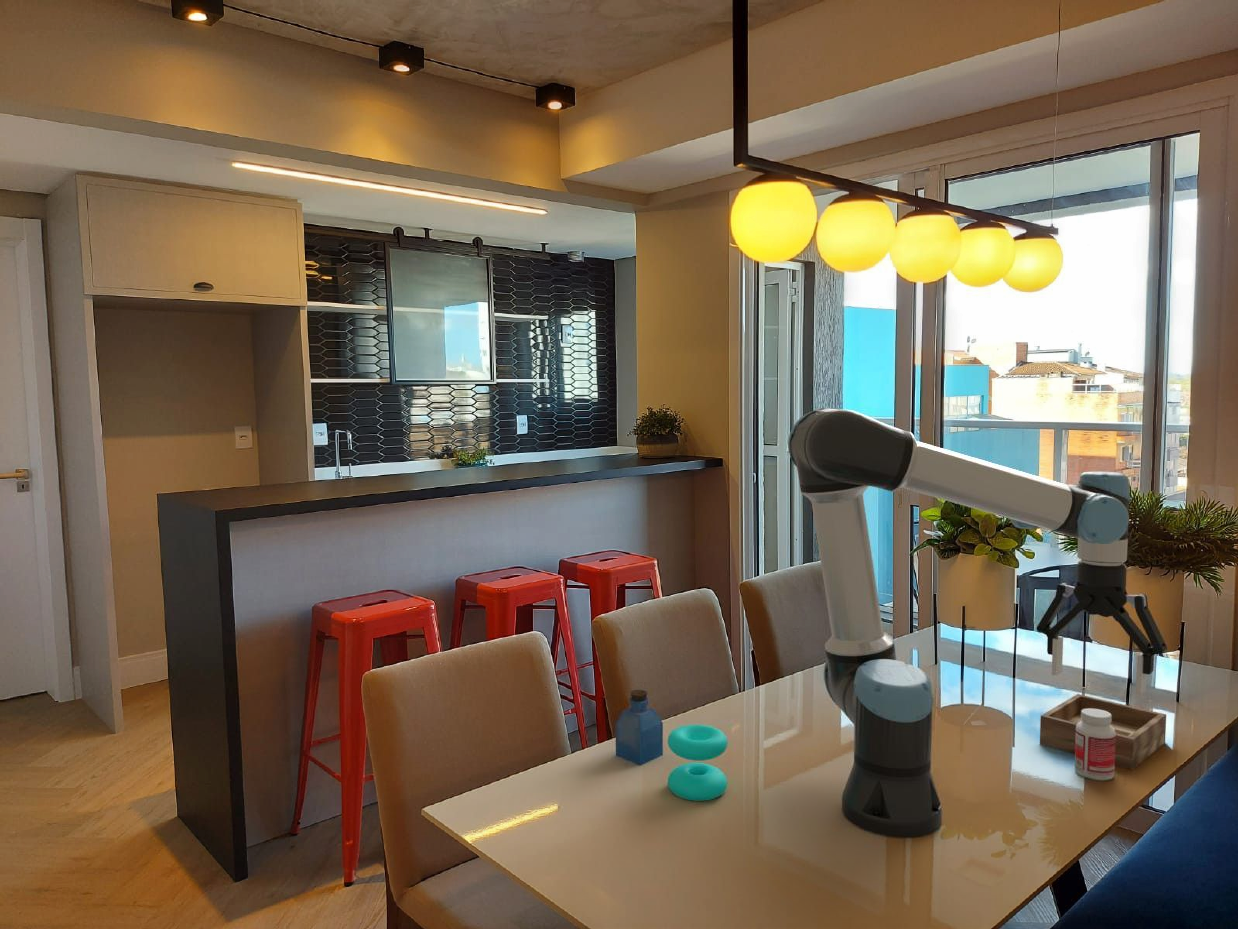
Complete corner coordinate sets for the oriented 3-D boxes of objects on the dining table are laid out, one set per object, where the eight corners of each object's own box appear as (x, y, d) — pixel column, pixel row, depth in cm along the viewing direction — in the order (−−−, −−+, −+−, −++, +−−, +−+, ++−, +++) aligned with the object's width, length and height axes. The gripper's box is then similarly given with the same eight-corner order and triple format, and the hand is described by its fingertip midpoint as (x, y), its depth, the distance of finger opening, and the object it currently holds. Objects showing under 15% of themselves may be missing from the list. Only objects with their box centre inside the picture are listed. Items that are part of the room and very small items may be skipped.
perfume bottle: (662, 755, 164) (662, 692, 163) (640, 765, 160) (640, 700, 159) (637, 746, 168) (637, 684, 168) (615, 756, 164) (615, 693, 163)
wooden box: (1132, 769, 157) (1133, 739, 156) (1039, 743, 168) (1040, 715, 168) (1165, 742, 169) (1166, 714, 168) (1076, 720, 180) (1077, 694, 180)
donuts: (675, 719, 155) (732, 725, 152) (675, 774, 156) (731, 781, 153) (661, 740, 145) (721, 747, 143) (661, 799, 146) (721, 807, 143)
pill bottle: (1121, 776, 154) (1123, 714, 153) (1102, 784, 151) (1104, 721, 150) (1086, 764, 159) (1088, 704, 158) (1067, 772, 156) (1069, 711, 155)
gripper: (1191, 568, 145) (1186, 694, 147) (1036, 550, 164) (1033, 662, 165) (1177, 575, 140) (1172, 705, 142) (1019, 555, 159) (1016, 670, 160)
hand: (1097, 682), depth 154 cm, fingers open, 13 cm apart
